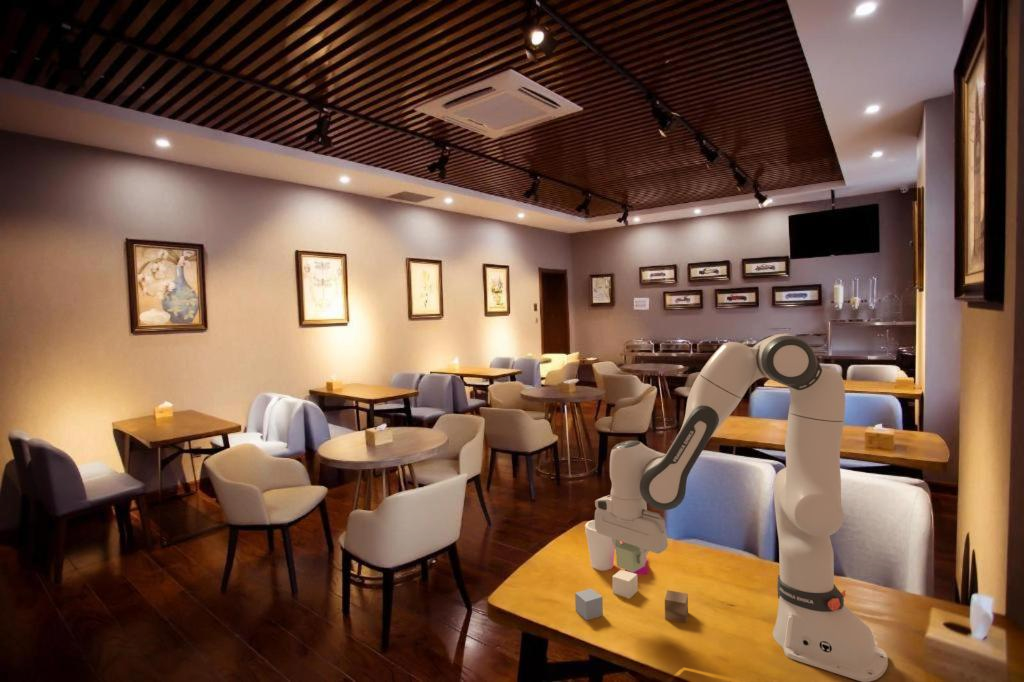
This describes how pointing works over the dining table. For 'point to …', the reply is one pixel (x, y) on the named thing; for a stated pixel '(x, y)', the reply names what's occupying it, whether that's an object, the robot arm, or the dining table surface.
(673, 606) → the cube walnut
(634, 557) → the cube sage
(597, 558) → the foam cup
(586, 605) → the cube slate
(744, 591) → the dining table surface
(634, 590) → the cube offwhite
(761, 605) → the dining table surface
